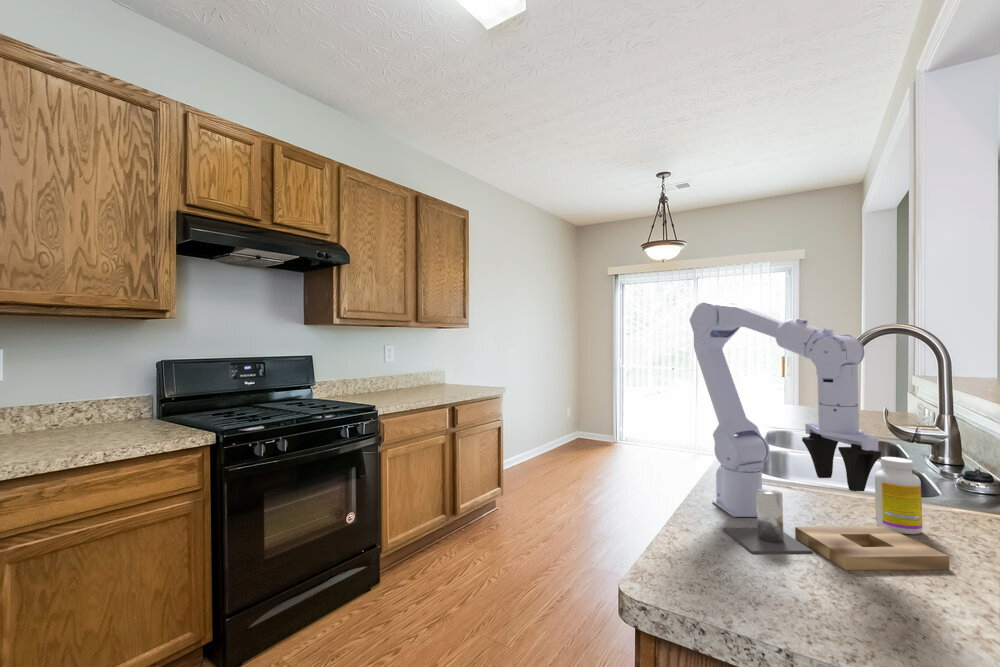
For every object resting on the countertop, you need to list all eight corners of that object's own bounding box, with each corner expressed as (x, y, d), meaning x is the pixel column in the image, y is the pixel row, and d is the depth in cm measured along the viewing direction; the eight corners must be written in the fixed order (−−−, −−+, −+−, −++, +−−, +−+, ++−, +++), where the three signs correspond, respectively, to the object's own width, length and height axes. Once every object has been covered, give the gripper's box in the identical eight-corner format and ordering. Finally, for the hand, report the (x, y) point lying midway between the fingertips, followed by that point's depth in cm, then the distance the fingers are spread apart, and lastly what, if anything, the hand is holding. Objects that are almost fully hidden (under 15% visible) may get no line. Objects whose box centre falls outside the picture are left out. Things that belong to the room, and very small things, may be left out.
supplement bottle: (931, 537, 84) (929, 464, 84) (889, 534, 85) (887, 462, 86) (907, 523, 91) (905, 456, 91) (868, 520, 92) (866, 454, 92)
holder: (795, 538, 84) (795, 526, 84) (884, 537, 84) (884, 526, 84) (845, 570, 72) (845, 556, 72) (949, 569, 72) (949, 555, 72)
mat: (722, 529, 88) (722, 527, 88) (776, 529, 88) (776, 527, 88) (752, 553, 78) (752, 551, 78) (812, 553, 78) (812, 550, 78)
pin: (753, 533, 85) (752, 488, 85) (777, 534, 84) (775, 489, 85) (763, 542, 81) (762, 495, 81) (788, 543, 80) (786, 495, 81)
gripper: (896, 410, 74) (898, 497, 74) (830, 399, 89) (832, 472, 88) (852, 410, 74) (854, 497, 74) (793, 399, 89) (795, 472, 88)
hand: (839, 483), depth 81 cm, fingers open, 7 cm apart
